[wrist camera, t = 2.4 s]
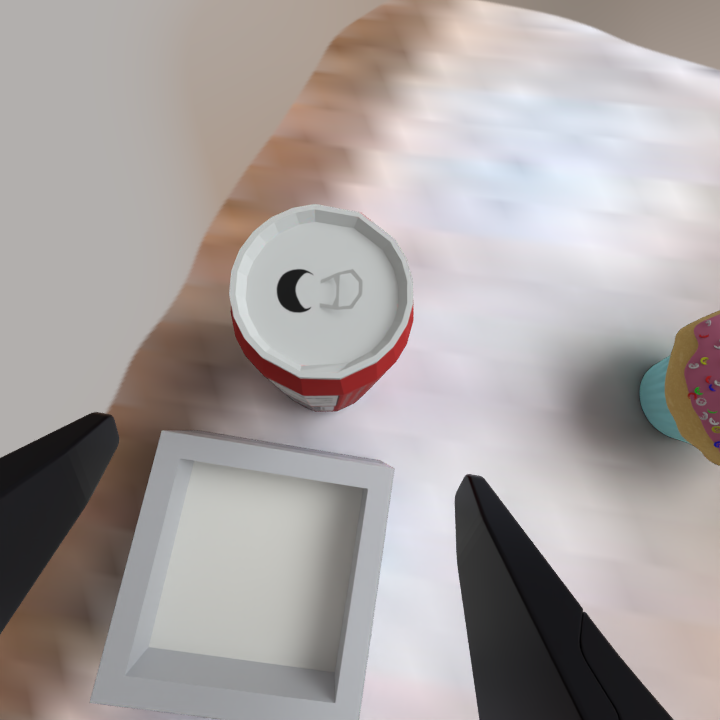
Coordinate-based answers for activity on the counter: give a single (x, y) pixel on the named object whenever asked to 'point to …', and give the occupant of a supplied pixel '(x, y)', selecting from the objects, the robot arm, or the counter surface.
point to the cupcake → (688, 388)
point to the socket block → (248, 582)
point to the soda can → (321, 304)
